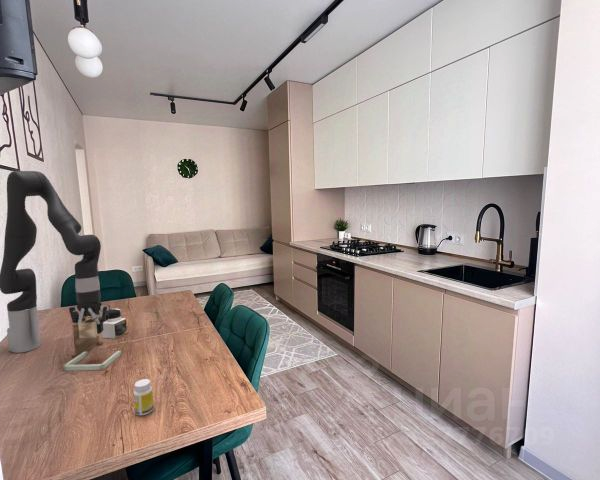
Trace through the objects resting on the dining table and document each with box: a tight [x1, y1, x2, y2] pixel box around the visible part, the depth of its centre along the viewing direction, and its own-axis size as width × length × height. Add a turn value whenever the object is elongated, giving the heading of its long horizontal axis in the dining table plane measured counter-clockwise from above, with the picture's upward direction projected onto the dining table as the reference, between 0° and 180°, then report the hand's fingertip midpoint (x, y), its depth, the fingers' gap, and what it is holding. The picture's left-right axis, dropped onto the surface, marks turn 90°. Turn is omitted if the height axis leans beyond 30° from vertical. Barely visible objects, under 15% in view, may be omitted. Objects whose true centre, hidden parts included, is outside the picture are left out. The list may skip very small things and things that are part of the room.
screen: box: [70, 314, 104, 359], centre depth 132 cm, size 5×13×13 cm, turn 1°
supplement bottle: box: [133, 378, 154, 416], centre depth 92 cm, size 5×5×8 cm
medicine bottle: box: [101, 308, 128, 340], centre depth 148 cm, size 7×7×12 cm
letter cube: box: [78, 318, 103, 338], centre depth 122 cm, size 6×6×6 cm
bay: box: [61, 350, 122, 372], centre depth 122 cm, size 14×12×2 cm
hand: (91, 332), depth 122 cm, fingers closed on letter cube, 5 cm apart
